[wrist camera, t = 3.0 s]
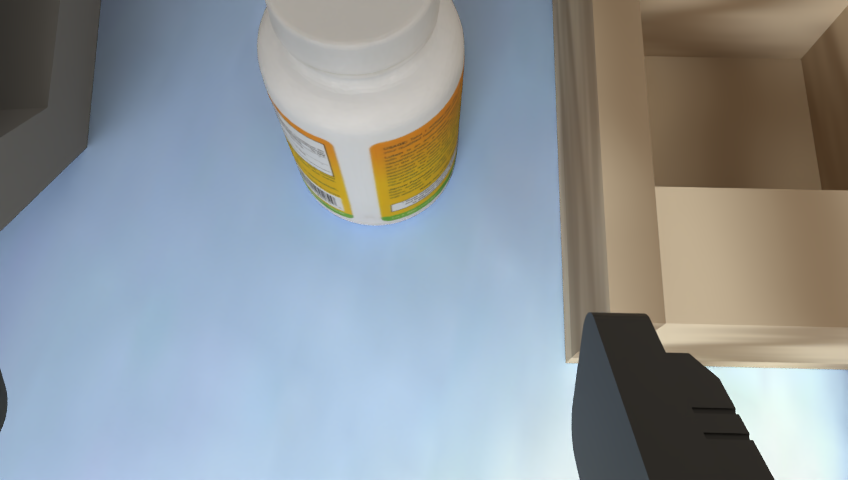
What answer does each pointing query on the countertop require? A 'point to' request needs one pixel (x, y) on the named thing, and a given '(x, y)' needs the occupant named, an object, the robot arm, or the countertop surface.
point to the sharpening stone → (43, 93)
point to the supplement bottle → (367, 99)
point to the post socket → (707, 174)
